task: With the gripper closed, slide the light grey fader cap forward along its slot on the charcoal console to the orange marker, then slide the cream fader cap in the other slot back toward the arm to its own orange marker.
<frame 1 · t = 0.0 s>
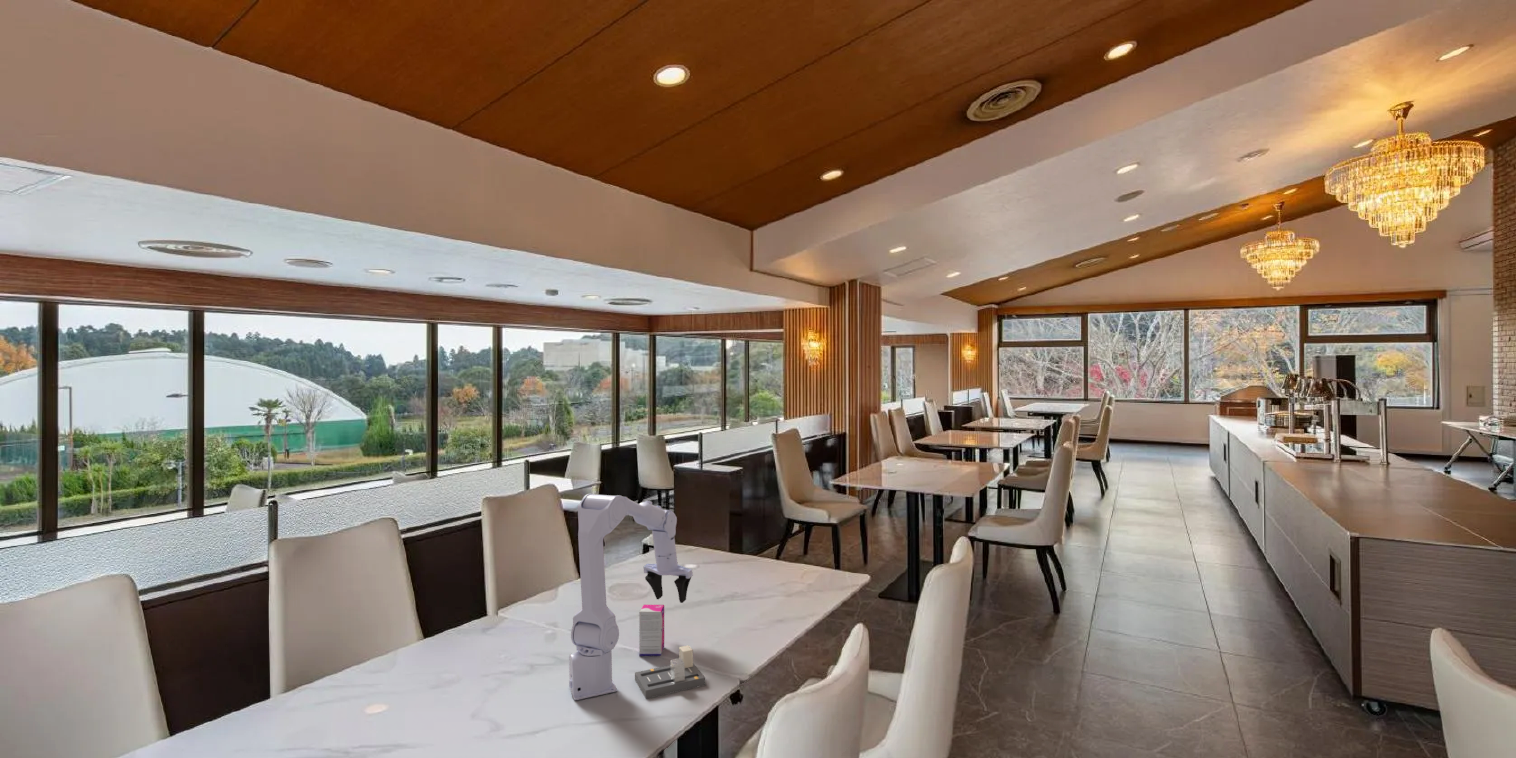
hand: (671, 599, 178), 11 cm above the table, tool pointing down, fingers open, 7 cm apart
console: (669, 682, 152), on the table
fader far: (686, 658, 157), point 4 cm above the table, slide at 0.0 cm
fader near: (677, 671, 149), point 4 cm above the table, slide at 0.0 cm
supplement box: (652, 652, 169), on the table
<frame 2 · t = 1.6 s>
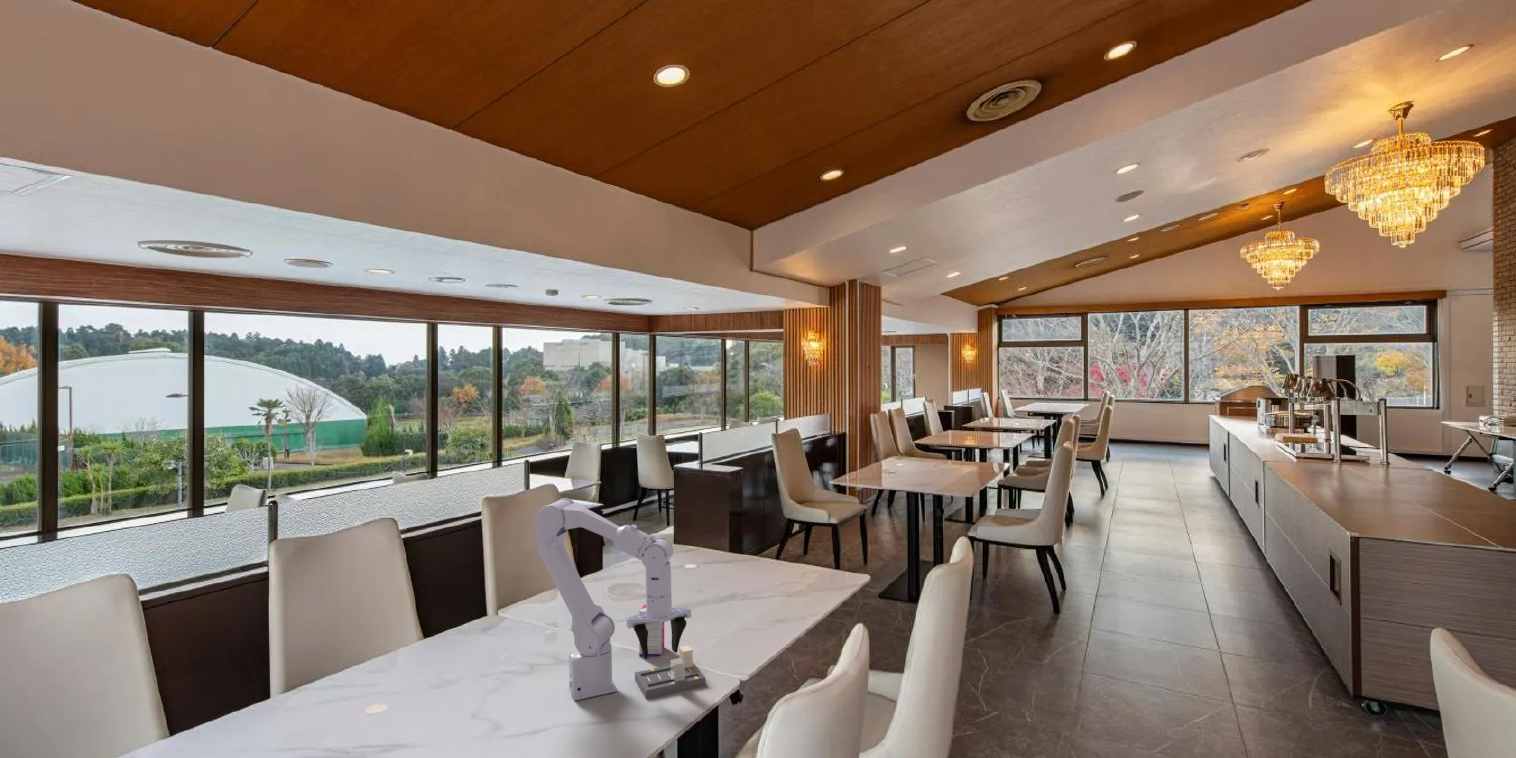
hand: (660, 653, 148), 8 cm above the table, tool pointing down, fingers open, 6 cm apart
nothing on the table moved.
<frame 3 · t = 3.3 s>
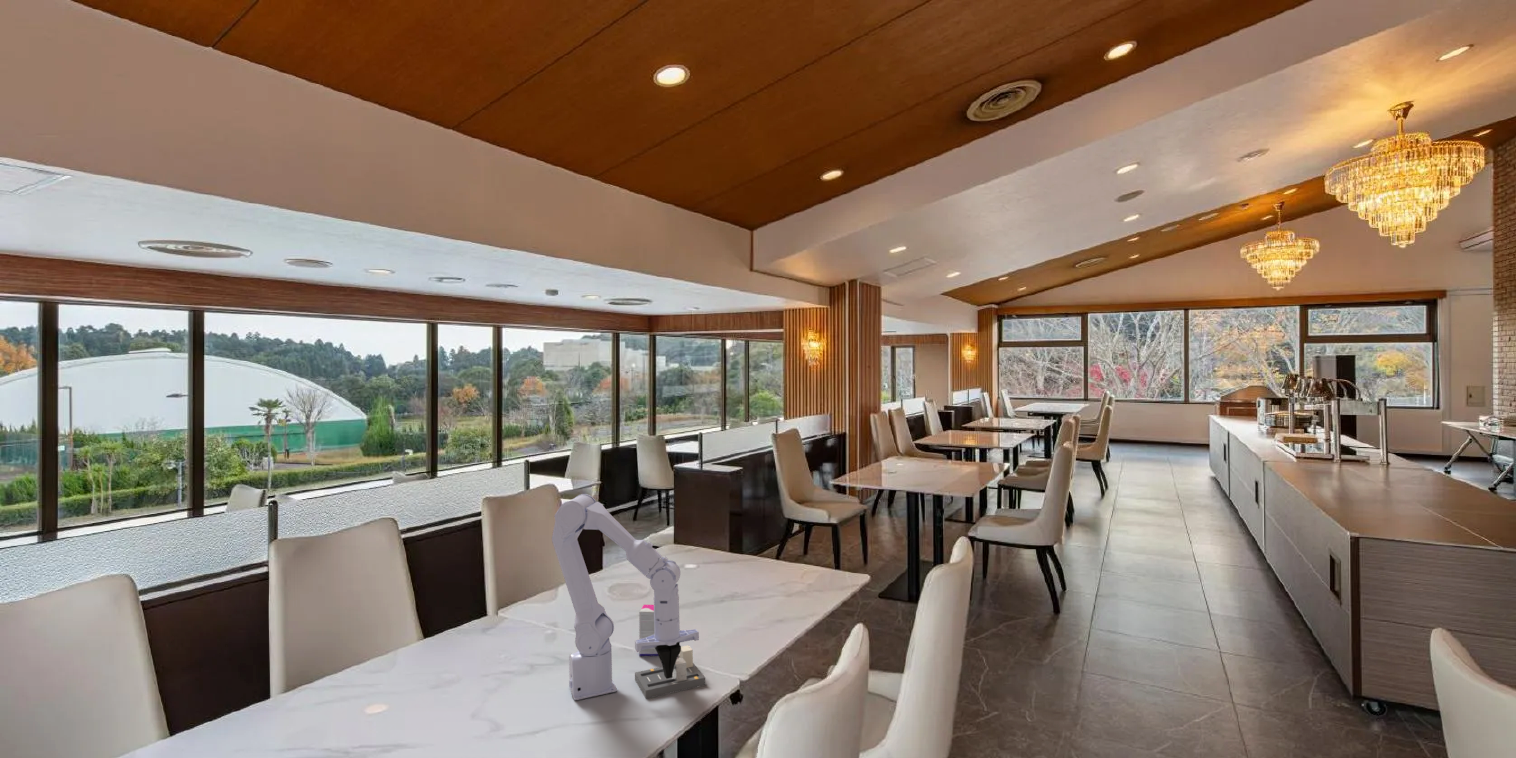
hand: (668, 676, 148), 3 cm above the table, tool pointing down, fingers closed
fader near: (679, 671, 150), point 4 cm above the table, slide at 0.5 cm, touching gripper
everything else where it was.
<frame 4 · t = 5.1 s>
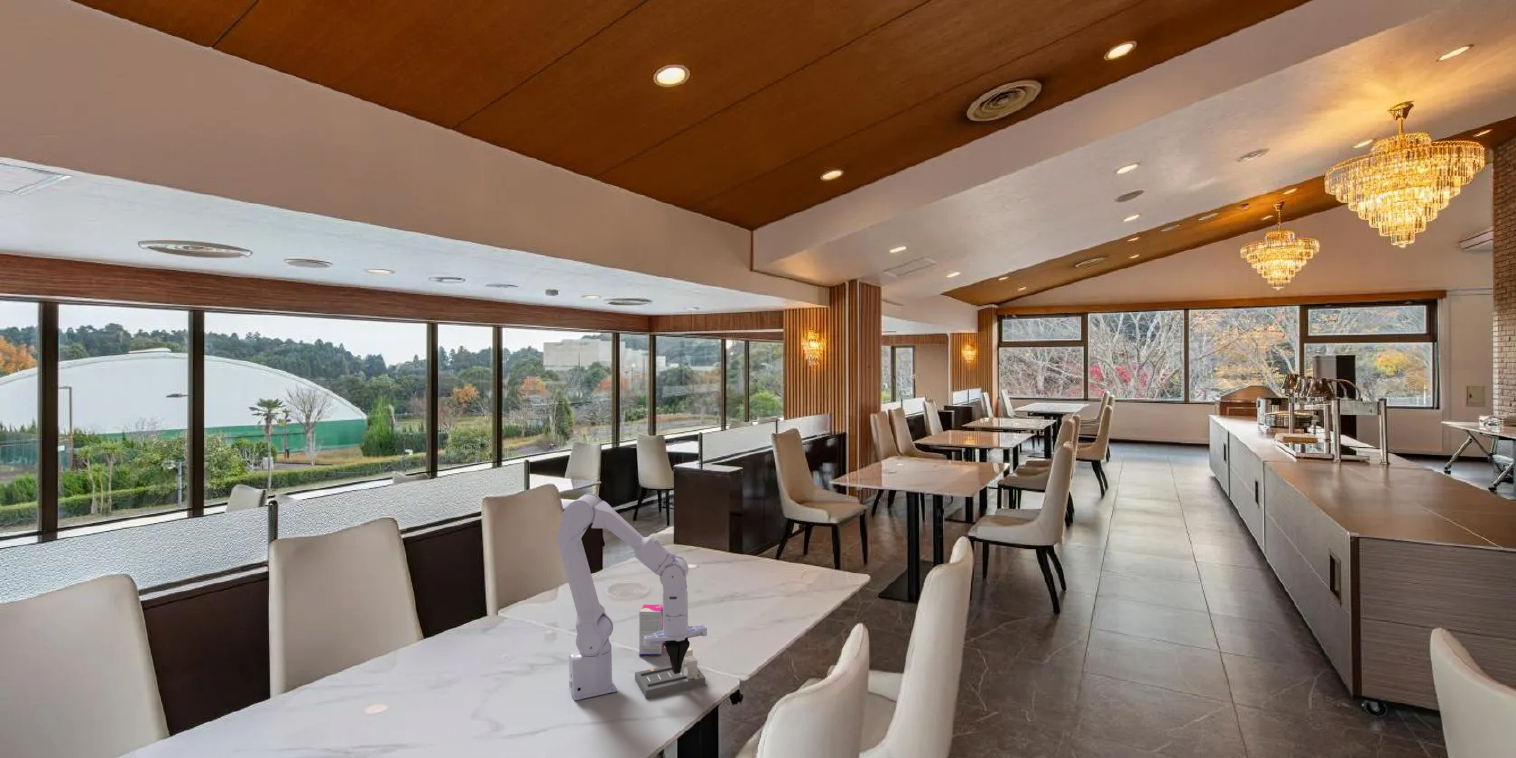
hand: (676, 671, 149), 4 cm above the table, tool pointing down, fingers closed
fader near: (690, 668, 151), point 4 cm above the table, slide at 3.1 cm, touching console
everything else where it was.
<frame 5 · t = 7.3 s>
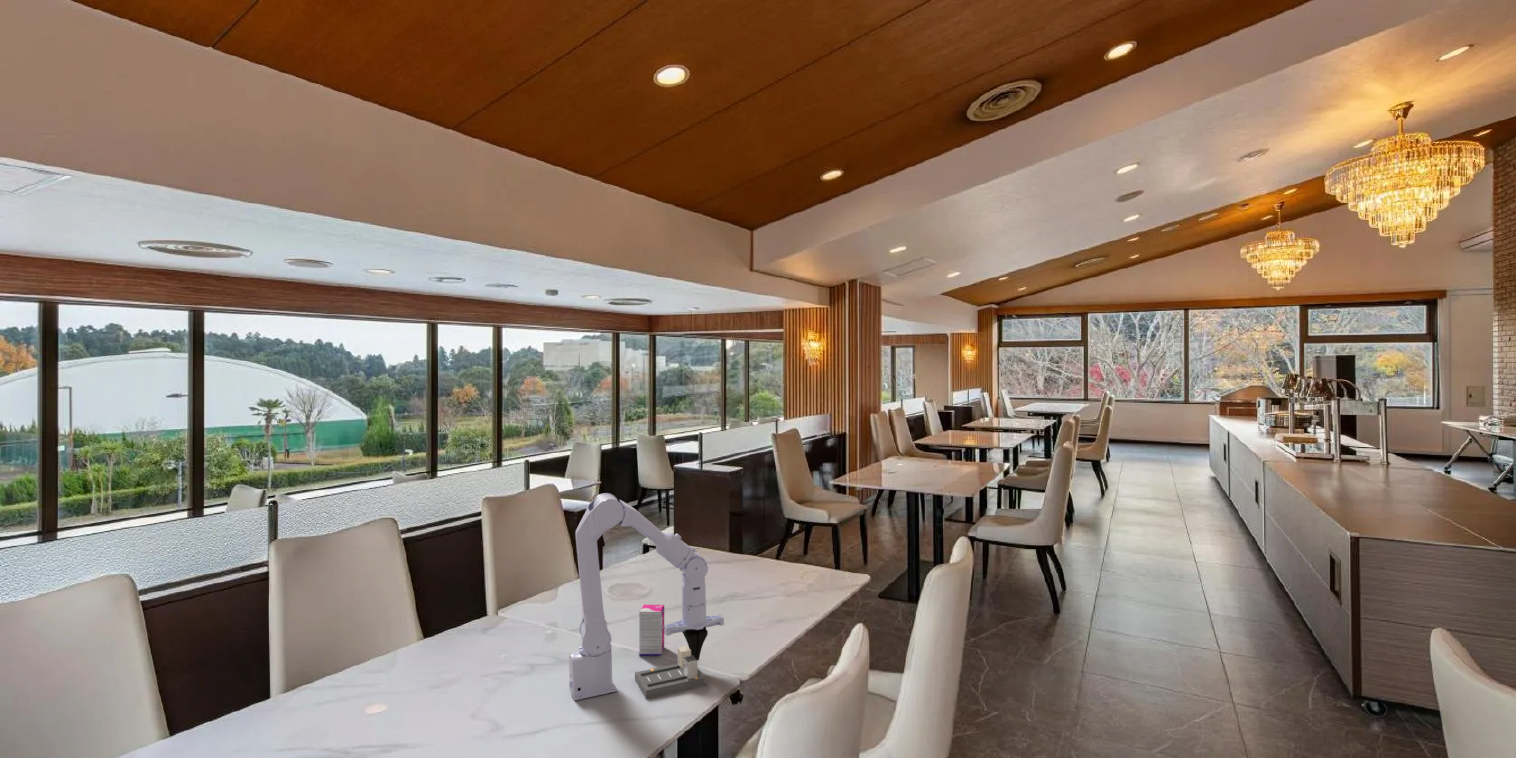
hand: (695, 659, 158), 3 cm above the table, tool pointing down, fingers closed
fader far: (684, 658, 156), point 4 cm above the table, slide at 0.4 cm, touching gripper
everything else where it was.
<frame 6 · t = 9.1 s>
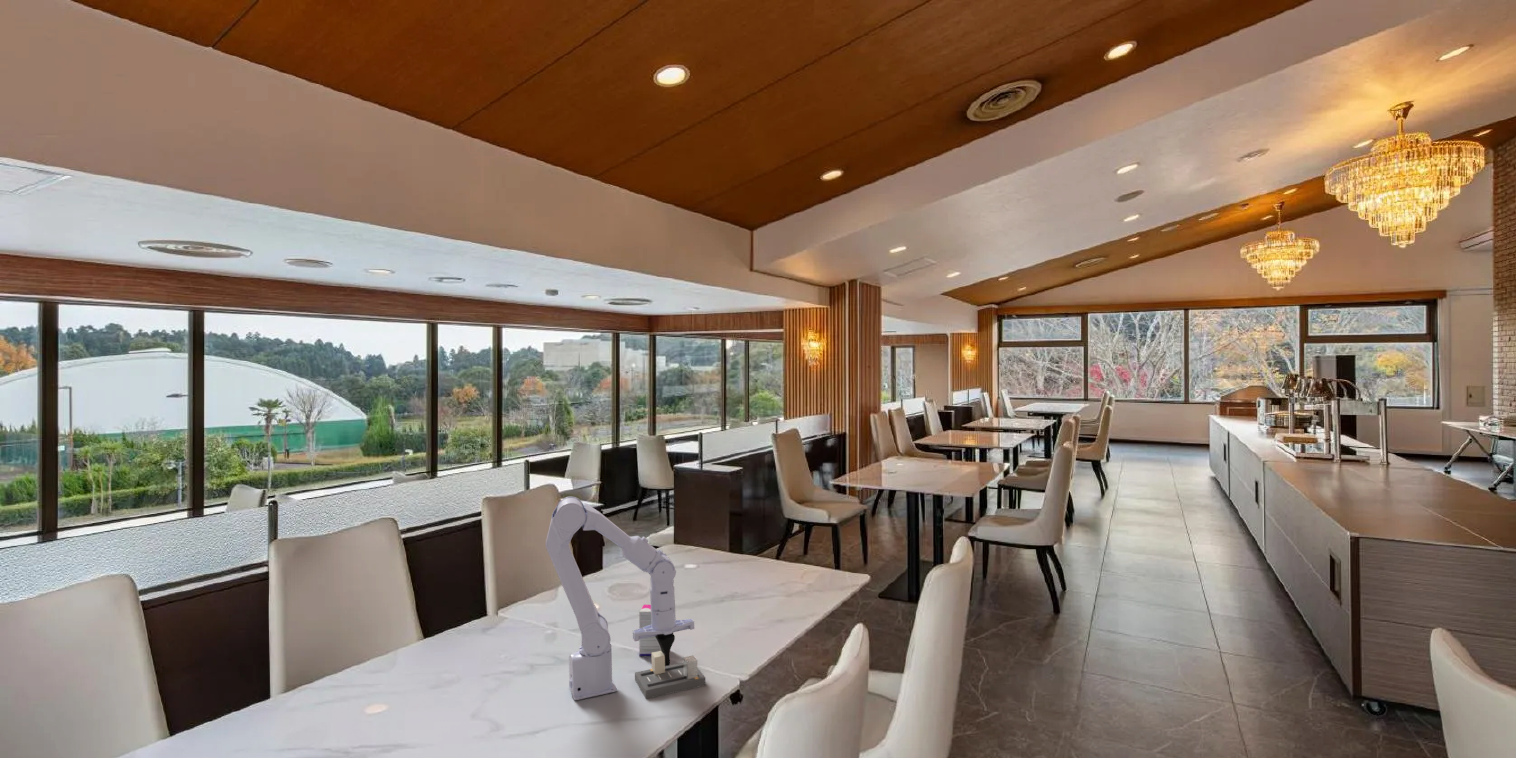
hand: (665, 664, 154), 3 cm above the table, tool pointing down, fingers closed, pressing on fader far
fader far: (658, 663, 154), point 4 cm above the table, slide at 6.9 cm, touching console, gripper
everything else where it was.
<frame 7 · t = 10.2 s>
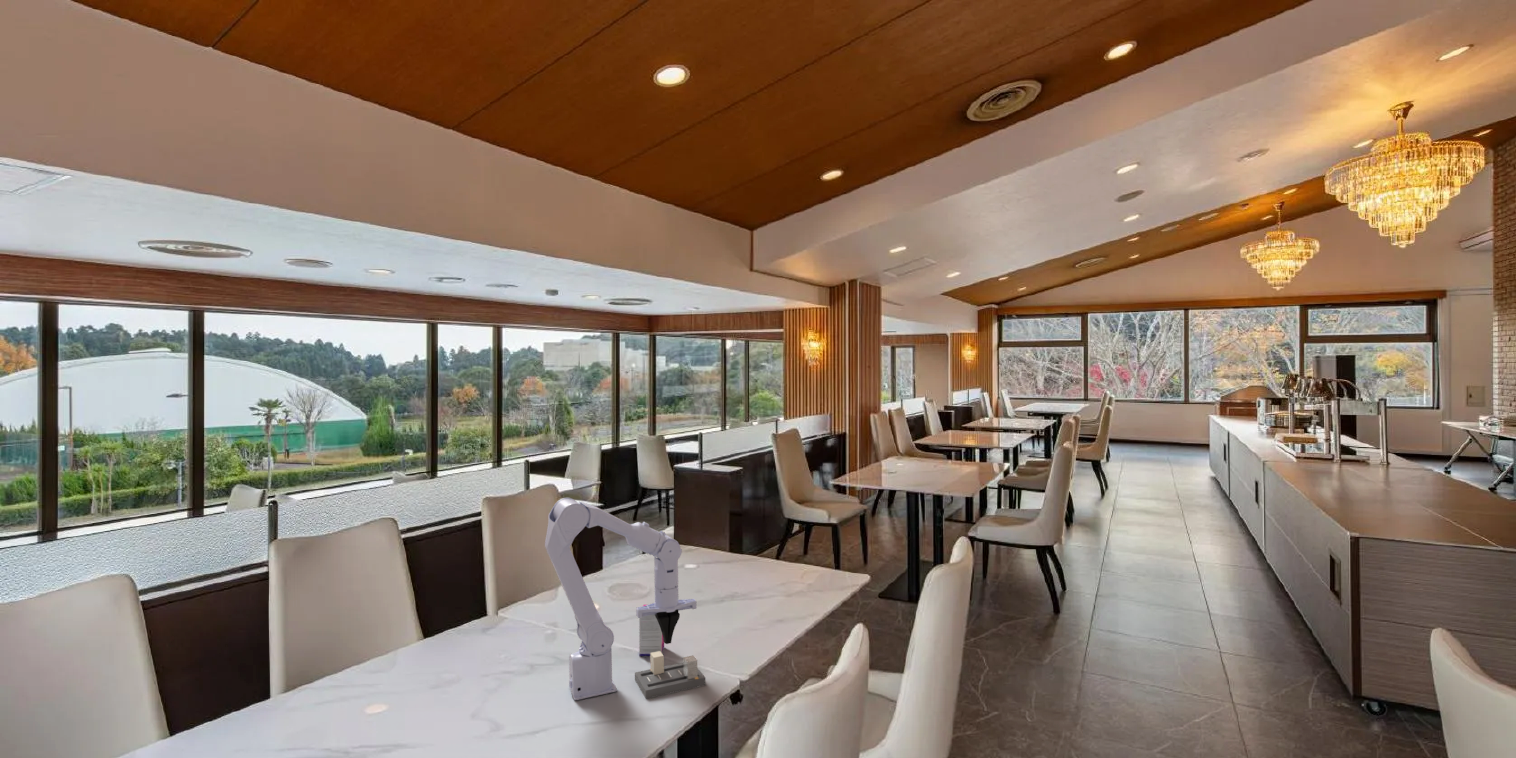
hand: (667, 642, 158), 7 cm above the table, tool pointing down, fingers closed
fader far: (657, 664, 154), point 4 cm above the table, slide at 7.1 cm, touching console
everything else where it was.
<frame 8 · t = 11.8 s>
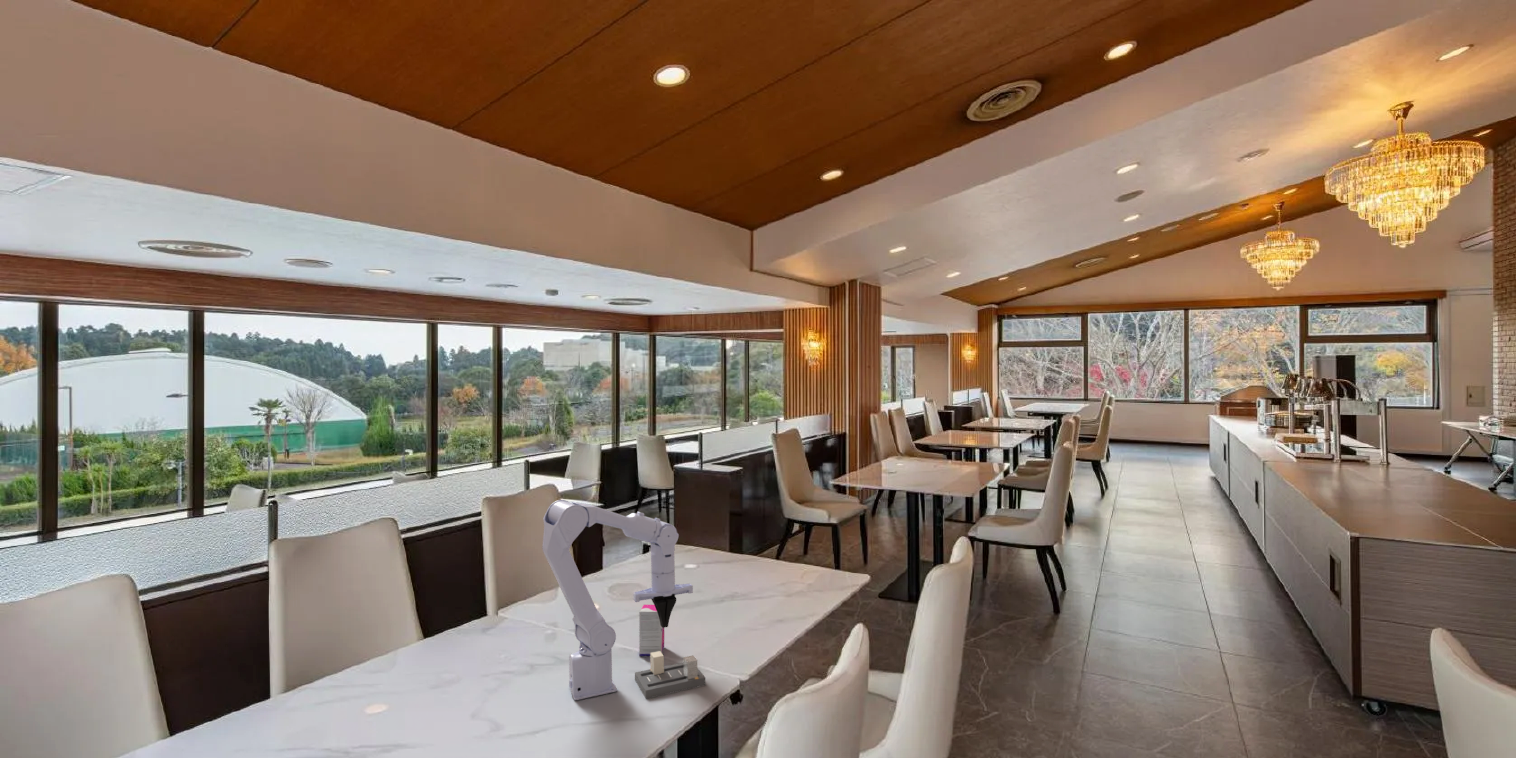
hand: (664, 626, 161), 10 cm above the table, tool pointing down, fingers closed
nothing on the table moved.
at the end: fader near slide at 3.1 cm; fader far slide at 7.1 cm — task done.
